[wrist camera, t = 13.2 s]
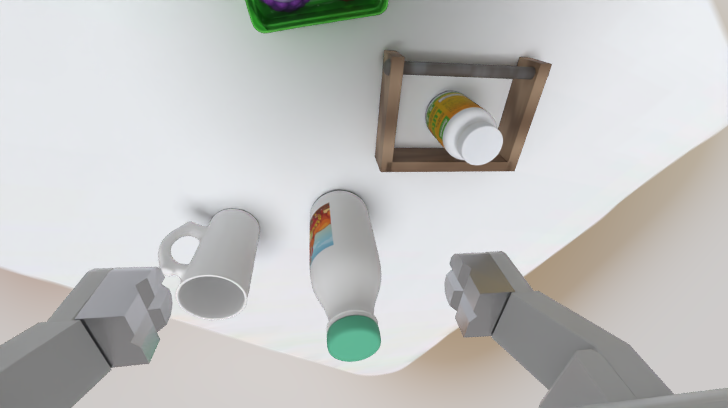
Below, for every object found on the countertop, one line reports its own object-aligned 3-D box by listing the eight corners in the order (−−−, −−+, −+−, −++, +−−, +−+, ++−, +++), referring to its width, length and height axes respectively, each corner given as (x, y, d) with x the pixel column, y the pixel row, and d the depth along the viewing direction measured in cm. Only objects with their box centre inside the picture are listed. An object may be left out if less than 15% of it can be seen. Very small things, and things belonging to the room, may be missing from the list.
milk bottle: (346, 177, 41) (370, 304, 24) (377, 217, 45) (415, 349, 28) (298, 208, 42) (288, 347, 26) (331, 244, 46) (342, 383, 30)
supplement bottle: (422, 96, 36) (453, 125, 28) (468, 85, 36) (512, 111, 28) (426, 140, 39) (455, 178, 31) (469, 129, 39) (508, 165, 31)
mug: (271, 221, 43) (259, 290, 33) (247, 254, 45) (229, 327, 35) (195, 184, 39) (155, 251, 29) (173, 223, 41) (129, 296, 31)
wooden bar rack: (378, 50, 33) (386, 56, 30) (534, 57, 36) (557, 64, 32) (370, 156, 40) (375, 172, 36) (502, 157, 42) (518, 171, 39)
